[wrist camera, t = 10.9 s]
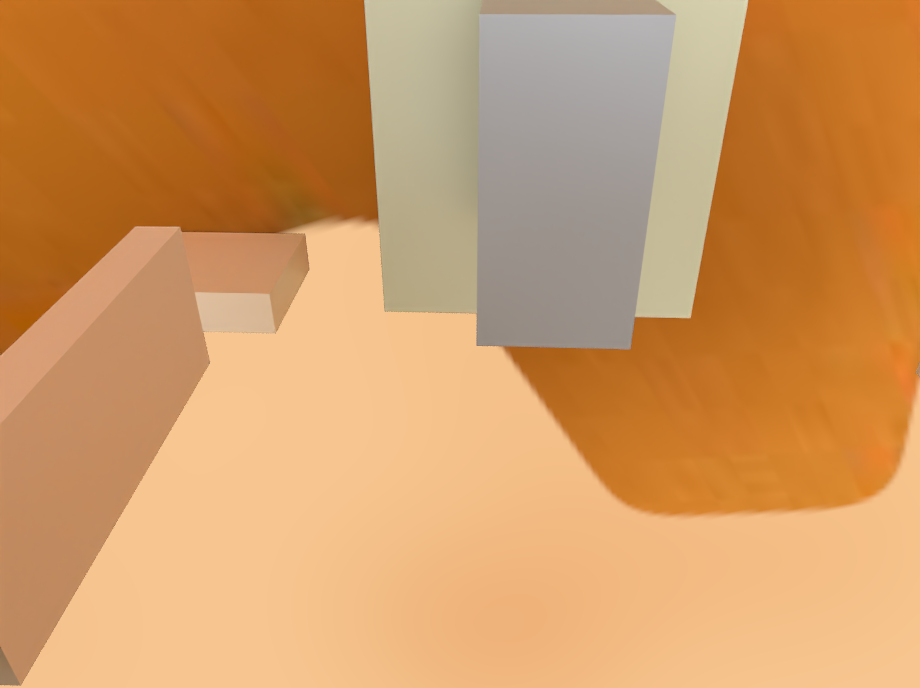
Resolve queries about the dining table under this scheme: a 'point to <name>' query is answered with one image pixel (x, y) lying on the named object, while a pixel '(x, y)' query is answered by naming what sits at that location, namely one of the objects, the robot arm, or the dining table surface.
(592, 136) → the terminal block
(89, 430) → the robot arm
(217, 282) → the white rectangular blocks
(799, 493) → the dining table surface
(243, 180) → the dining table surface
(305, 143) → the dining table surface
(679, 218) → the sage mat
